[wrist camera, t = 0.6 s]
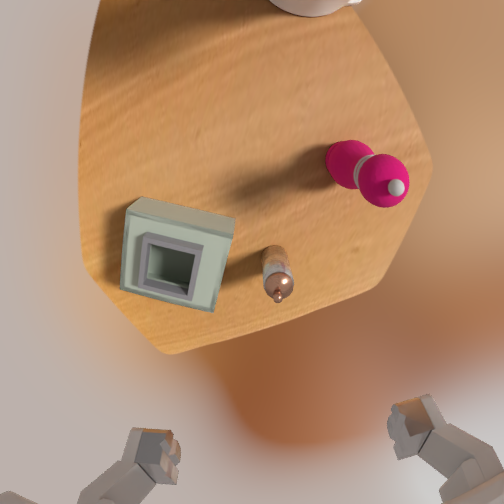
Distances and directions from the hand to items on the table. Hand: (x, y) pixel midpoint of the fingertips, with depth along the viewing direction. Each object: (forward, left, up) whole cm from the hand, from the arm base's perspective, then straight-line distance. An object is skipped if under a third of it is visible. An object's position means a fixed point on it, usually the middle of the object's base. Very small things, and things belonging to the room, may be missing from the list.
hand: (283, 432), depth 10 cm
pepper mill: (-7, +12, -42) cm, 44 cm away
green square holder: (+14, -10, -42) cm, 45 cm away
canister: (+12, +6, -42) cm, 44 cm away
